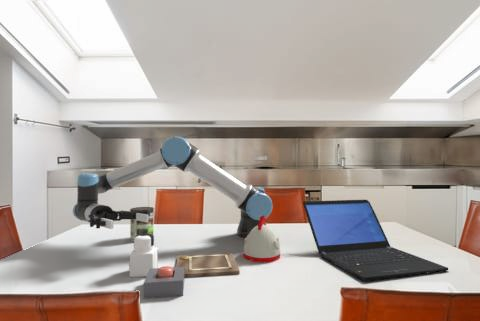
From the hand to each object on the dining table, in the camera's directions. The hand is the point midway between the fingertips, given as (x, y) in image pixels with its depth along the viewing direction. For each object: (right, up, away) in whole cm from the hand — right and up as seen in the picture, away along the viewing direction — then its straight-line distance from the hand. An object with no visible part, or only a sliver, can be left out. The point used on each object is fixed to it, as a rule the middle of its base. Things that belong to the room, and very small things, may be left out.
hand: (130, 221), depth 99 cm
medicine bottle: (+7, -15, -8) cm, 18 cm away
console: (+17, -14, -20) cm, 30 cm away
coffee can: (-7, -15, +32) cm, 36 cm away
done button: (+17, -12, -20) cm, 29 cm away
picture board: (+27, -15, -2) cm, 30 cm away
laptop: (+85, -15, +6) cm, 87 cm away
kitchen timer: (+46, -15, +8) cm, 49 cm away
